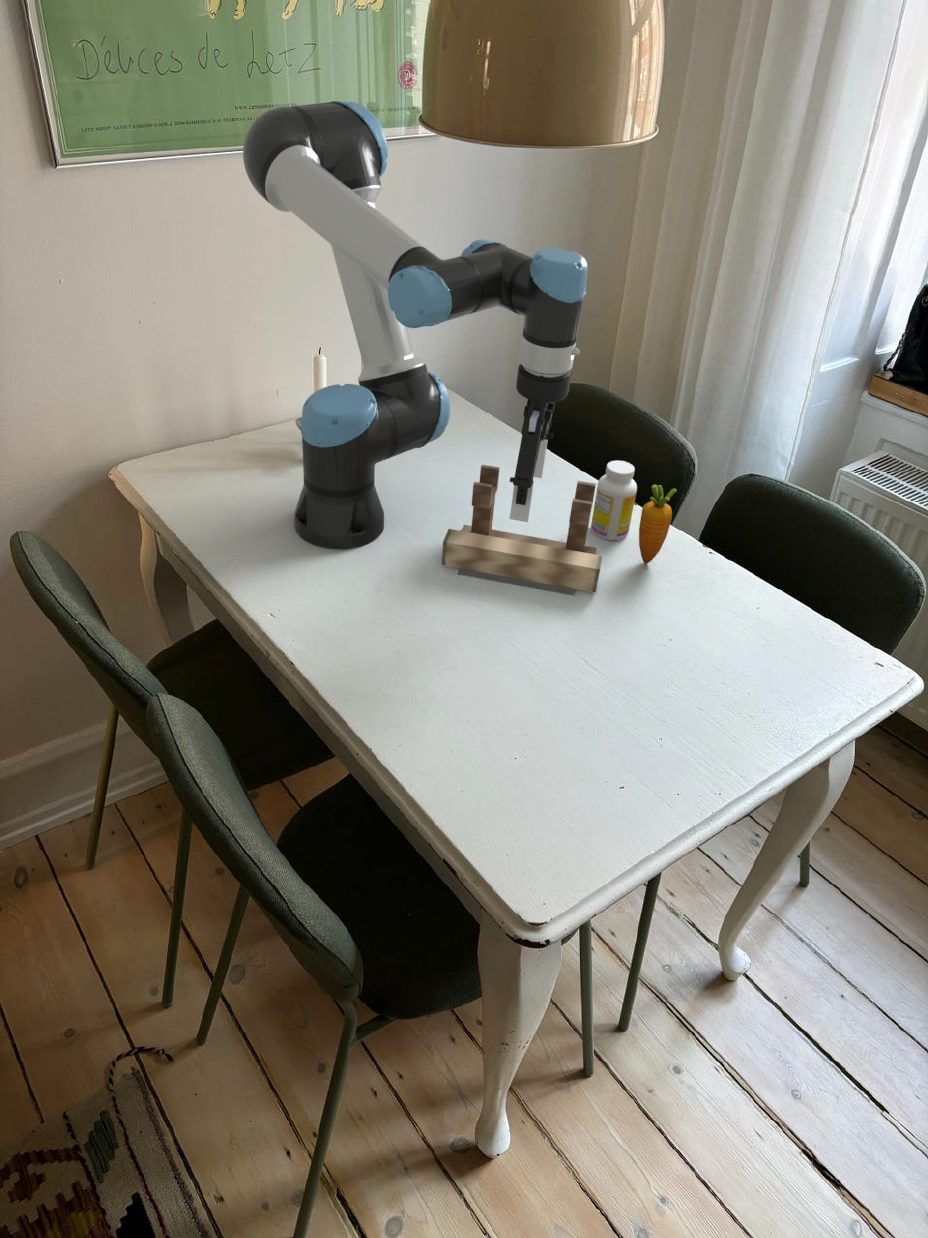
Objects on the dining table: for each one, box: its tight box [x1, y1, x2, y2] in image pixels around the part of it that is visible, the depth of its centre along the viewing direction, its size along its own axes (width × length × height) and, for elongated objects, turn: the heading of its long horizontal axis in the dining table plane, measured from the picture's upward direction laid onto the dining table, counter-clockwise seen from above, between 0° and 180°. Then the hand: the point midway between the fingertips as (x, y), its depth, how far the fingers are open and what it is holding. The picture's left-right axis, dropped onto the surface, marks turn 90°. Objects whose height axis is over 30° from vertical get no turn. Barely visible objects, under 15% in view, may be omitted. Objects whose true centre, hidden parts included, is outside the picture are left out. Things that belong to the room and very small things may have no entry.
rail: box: [441, 528, 604, 593], centre depth 156 cm, size 25×4×4 cm, turn 78°
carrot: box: [638, 484, 678, 565], centre depth 159 cm, size 5×5×15 cm
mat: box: [457, 568, 577, 596], centre depth 158 cm, size 19×6×1 cm, turn 78°
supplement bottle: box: [590, 460, 638, 542], centre depth 167 cm, size 7×7×13 cm
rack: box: [460, 464, 598, 555], centre depth 160 cm, size 23×7×12 cm, turn 78°
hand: (526, 496), depth 150 cm, fingers open, 13 cm apart
